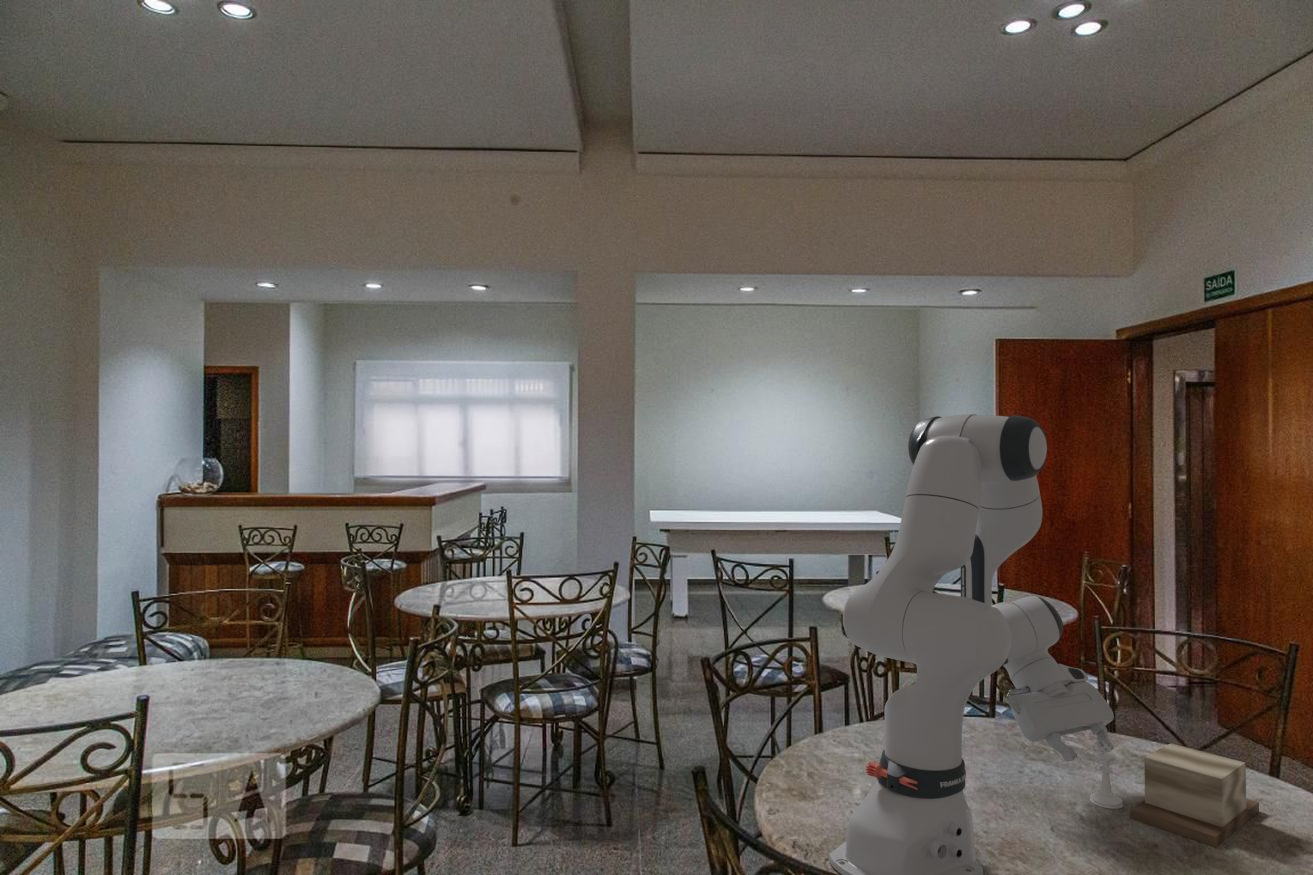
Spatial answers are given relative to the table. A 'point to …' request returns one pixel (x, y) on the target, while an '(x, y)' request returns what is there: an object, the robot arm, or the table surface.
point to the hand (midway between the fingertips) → (1091, 755)
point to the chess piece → (1106, 784)
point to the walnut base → (1194, 794)
